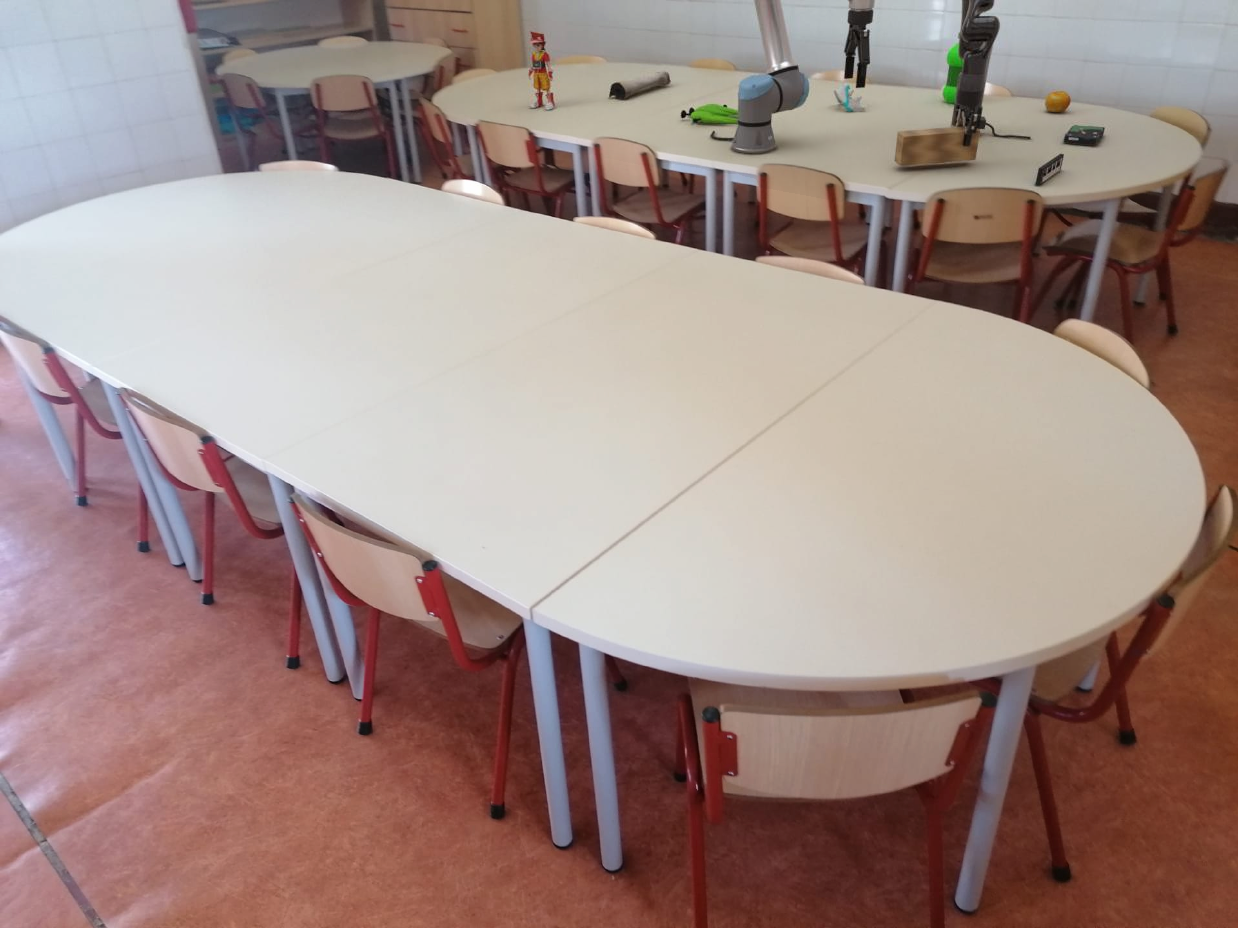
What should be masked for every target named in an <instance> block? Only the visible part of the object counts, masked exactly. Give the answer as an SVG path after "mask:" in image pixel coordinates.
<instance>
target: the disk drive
mask: <svg viewBox="0 0 1238 928" xmlns="http://www.w3.org/2000/svg"><path fill="white" fill-rule="evenodd" d="M1105 129H1106V127H1104V126H1093V125H1078V124H1074V125H1072V126H1071V127H1070V128H1069V130H1068V131H1067V132H1066V134H1064V138H1063V143H1066V144H1071V145H1080V146H1097V145H1098V143H1099V141H1100V140H1101V139H1102V137H1103V136H1104V134H1105Z"/></svg>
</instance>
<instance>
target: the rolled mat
mask: <svg viewBox="0 0 1238 928" xmlns="http://www.w3.org/2000/svg"><path fill="white" fill-rule="evenodd" d="M671 83H672V81H671V77H670V74H669V72H668V71H658V72H654V73H649V74H645V75H640V76H637V77H633V78H628V79H623V80H620V81H616V82H613V83H612V84H611V85H610V89H609V95H608V97H609V98H611V97H616V99H620V100H622V101H623V100H626V99H627V98H629V97H630V96H632V95H635V94H636V93H638V92H640V91H643V90H644V89H647V88H650V87H655V86H658V87H659V86H661V87H665V86H669V85H670V84H671Z"/></svg>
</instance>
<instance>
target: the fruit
mask: <svg viewBox="0 0 1238 928" xmlns="http://www.w3.org/2000/svg"><path fill="white" fill-rule="evenodd" d="M1071 102H1072V99H1071V96H1070V94H1069V93H1067V92H1066V91H1063V90H1055V91H1052V92H1050V93H1049V94H1048V95H1047V96H1046V98H1045V101H1044V107H1045V109H1046V110H1047V111H1048V112H1051V113H1061V112H1065V111H1066V110H1067V109H1068V108H1069V106H1070V105H1071Z"/></svg>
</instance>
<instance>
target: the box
mask: <svg viewBox="0 0 1238 928" xmlns="http://www.w3.org/2000/svg"><path fill="white" fill-rule="evenodd" d="M896 134H897V135H896V144H895V152H894V162H895V163H896V164H897V165H898V166H899V167H908V166H921V165H922V166H923V165H933V164H946V163H957V162H958V163H959V162H970V161H976V160H977V153H978V148H979V140H980V135H981V129H978V128H977V131H976V133H973V134H972V137H971V144H970V146H963V140H964V134H965V128H964V127H963V126H959V127H950V126H949V127H937V128H925V129H924V128H923V129H911V130H900V131H899V130H898V131H897V133H896Z"/></svg>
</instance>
